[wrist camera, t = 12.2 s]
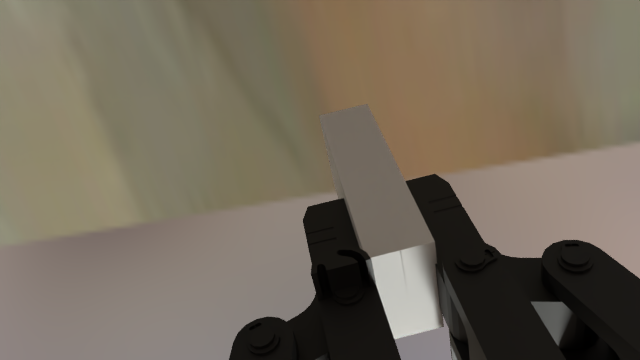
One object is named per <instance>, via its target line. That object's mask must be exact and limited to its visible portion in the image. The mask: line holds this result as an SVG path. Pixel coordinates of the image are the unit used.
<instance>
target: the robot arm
mask: <svg viewBox="0 0 640 360" xmlns="http://www.w3.org/2000/svg"><path fill="white" fill-rule="evenodd" d="M319 117H320V121H321V126H322V130H323V135H324V140H325V144H326V149H327V153H328V158H329V162H330V167H331V171H332V176H333V181H334V185H335V189H336V192H337V195H338V200H333V201H329V202H325V203H321V204H317V205H313V206H309V207H308V208H307V211H306V213H305V216H304V218H303V223H304V229H305V233H306V238H307V243H308V248H309V253H310V257H311V262H312V269H311V276H312V279H313V283H314V286H315V290H316V295H315V298H314V300H313V301H312V303H311V305H310V306H309V307H308V308H307V309H306V310H305V311H304V312H302V313H301V314H299V315H298V316H296V317H294V318H292V319H291V320H289V321H287V322H286V321H284V320H282V319H280V318H275V317H264V318H260V319H256V320H254V321H252V322H250V323H249V324H247V325H245V326H244V327H243V328H242V329H241V331H240V332H238V334H237V336H236V338H235V340H234V342H233V346H232V350H231V354H230V358H229V360H401V358H400V355H399V352H398V349H397V346H396V343H395V340H394V339H397V338H401V337H405V336H409V335H412V334H417V333H420V332H424V331H428V330H432V329H436V328H440V327H444V325H443V316H444V318H445V321H446V323H447V325H448V327H449V335H450V345H451V356H452V360H640V279H639V278H638V277H637V276H635V275H634V274H633V273H631V272H630V271H628V270H627V269H626V268H625V267H624V266H622V265H621V264H619V263H618V262H617V261H616V260H614V259H613V258H612V257H610V256H609V255H608V254H606V253H605V252H603V251H602V250H601V249H600V248H598V247H596V246H594V245H592V244H590V243H587V242H583V241H579V240H563V241H560V242H556V243H553V244H552V245H550V246H549V247H548V248H546V249H545V251H544V253H543V255H542V258H516V257H509V256H505V255H501V253H500V252H499V251H498V250H497V249H496V248H495V247H492V246H490V245H488V244H486V243H485V242H484V241H483V239H482V238H481V236H480V234H479V233H478V231H477V229H476V228H475V226H474V224H473V223H472V221H471V219H470V218H469V216H468V214H467V213H466V211H465V209H464V208H463V207H462V204H461V203H460V201H459V199H458V198H457V197H456V194H455V193H454V191H453V189H452V188H451V186H450V184H449V183H448V182H447V181H445V180H444V179H442V178H440V177H439V176H437V175H436V174H433V175H429V176H425V177H420V178H416V179H412V180H408V181H405V180H404V178H403V176H402V174H401V172H400V170H399V168H398V165H397V163H396V161H395V159H394V157H393V155H392V153H391V151H390V149H389V147H388V145H387V143H386V141H385V139H384V137H383V135H382V133H381V131H380V129H379V127H378V125H377V123H376V121H375V119H374V117H373V115H372V112H371V110H370V108H369V106H368V104H364V105H360V106H356V107H352V108H348V109H344V110H340V111H336V112H332V113H328V114H324V115H320V116H319ZM442 314H443V315H442Z"/></svg>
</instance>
